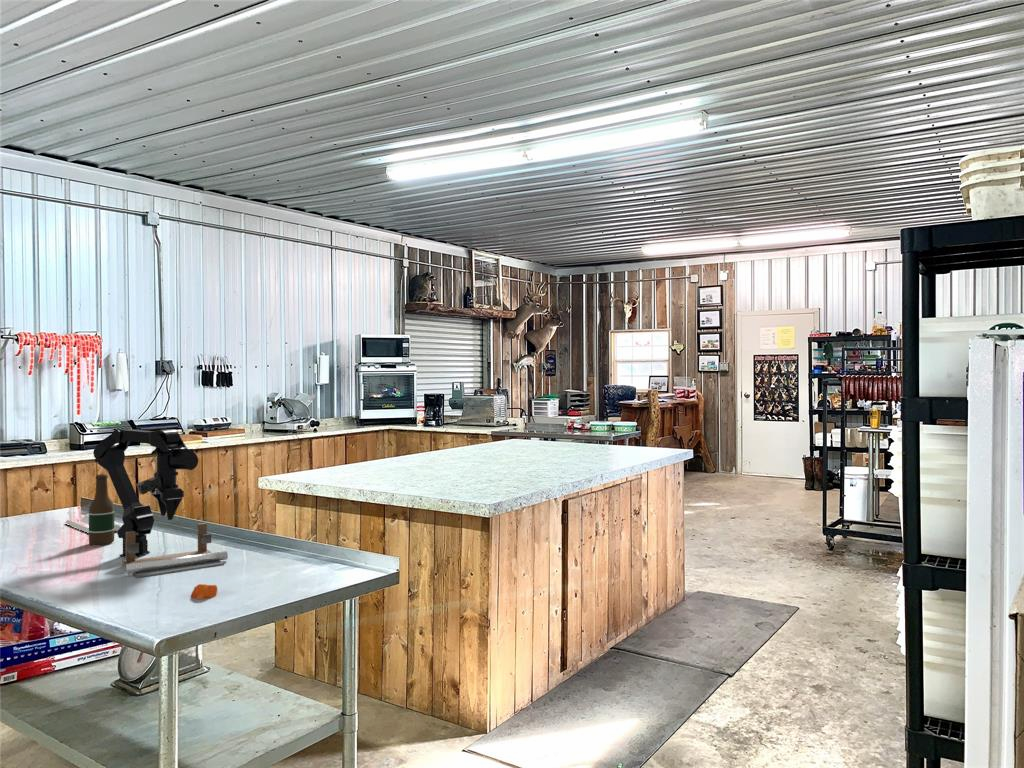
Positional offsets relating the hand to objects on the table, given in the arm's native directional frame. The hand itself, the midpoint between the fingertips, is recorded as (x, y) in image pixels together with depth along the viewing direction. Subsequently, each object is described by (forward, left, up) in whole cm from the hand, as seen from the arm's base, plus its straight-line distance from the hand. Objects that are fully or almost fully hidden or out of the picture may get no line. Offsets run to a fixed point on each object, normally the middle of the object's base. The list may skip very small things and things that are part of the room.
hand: (166, 517), depth 228 cm
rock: (+34, -36, -14) cm, 51 cm away
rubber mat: (+11, -11, -13) cm, 20 cm away
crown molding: (-56, +42, -14) cm, 71 cm away
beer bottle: (-35, +17, -13) cm, 41 cm away
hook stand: (+3, -3, -13) cm, 14 cm away
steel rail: (+11, -11, -12) cm, 20 cm away
